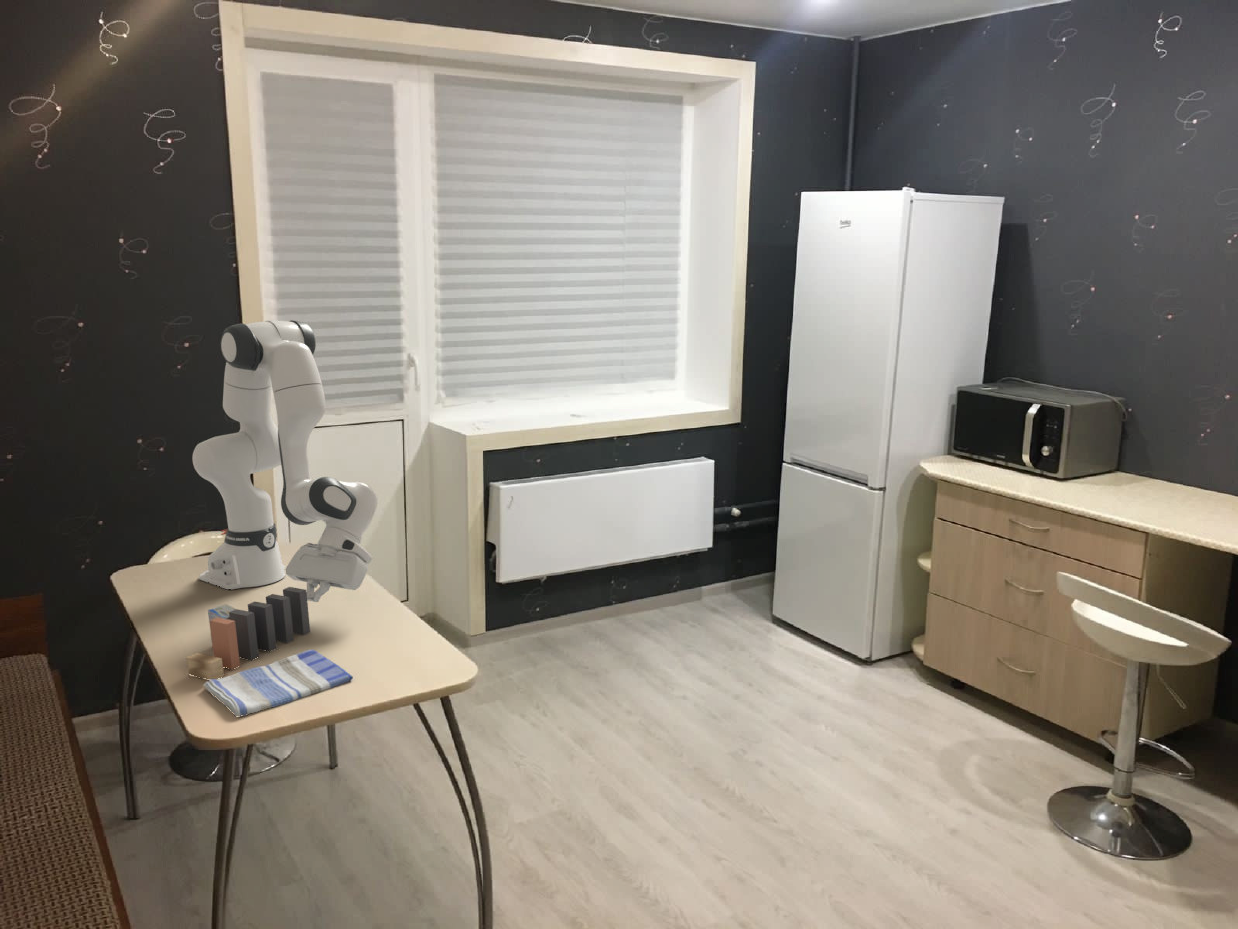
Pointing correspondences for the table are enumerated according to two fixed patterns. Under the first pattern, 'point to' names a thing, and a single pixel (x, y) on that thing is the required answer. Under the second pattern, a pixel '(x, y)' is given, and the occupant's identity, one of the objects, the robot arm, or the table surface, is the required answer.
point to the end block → (205, 666)
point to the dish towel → (277, 682)
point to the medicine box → (220, 612)
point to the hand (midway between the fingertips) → (310, 600)
